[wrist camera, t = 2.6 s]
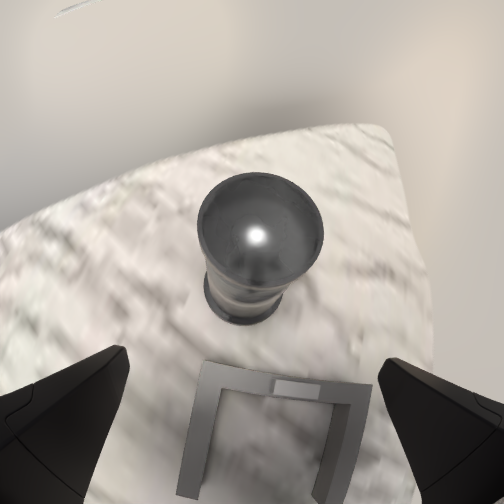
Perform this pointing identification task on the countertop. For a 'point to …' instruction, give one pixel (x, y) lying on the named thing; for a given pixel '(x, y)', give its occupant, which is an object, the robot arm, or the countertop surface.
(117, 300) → the countertop surface
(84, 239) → the countertop surface
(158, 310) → the countertop surface
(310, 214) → the dark grey flanged cylinder
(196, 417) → the u-shaped bracket
